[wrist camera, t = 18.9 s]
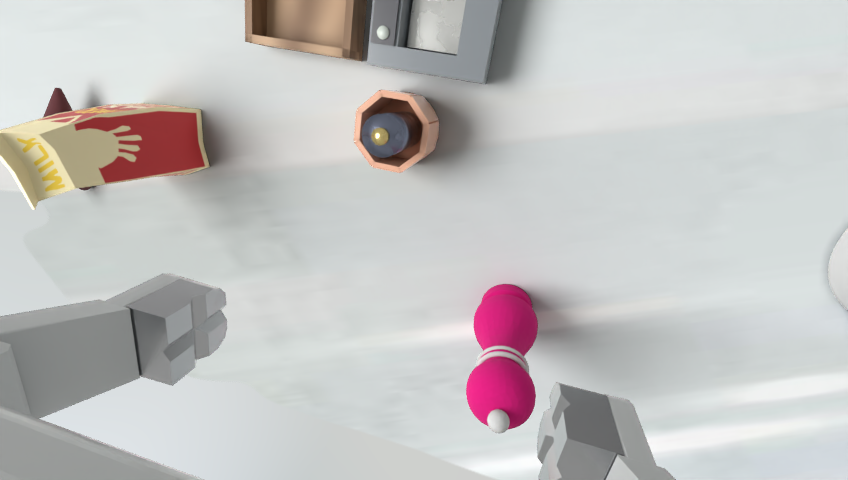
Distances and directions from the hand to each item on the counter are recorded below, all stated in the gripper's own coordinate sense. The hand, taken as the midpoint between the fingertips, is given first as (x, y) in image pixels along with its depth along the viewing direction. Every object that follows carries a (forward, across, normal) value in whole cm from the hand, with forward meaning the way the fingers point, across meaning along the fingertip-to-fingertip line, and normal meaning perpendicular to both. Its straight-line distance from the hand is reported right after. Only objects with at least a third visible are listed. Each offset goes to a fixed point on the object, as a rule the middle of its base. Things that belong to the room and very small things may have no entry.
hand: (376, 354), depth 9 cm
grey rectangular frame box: (+37, +8, -12) cm, 40 cm away
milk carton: (+37, +41, +6) cm, 56 cm away
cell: (+36, +10, -1) cm, 38 cm away
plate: (+37, +8, -12) cm, 39 cm away
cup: (+37, +10, -1) cm, 38 cm away
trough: (+37, +22, -11) cm, 44 cm away
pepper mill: (+37, -6, +18) cm, 42 cm away
